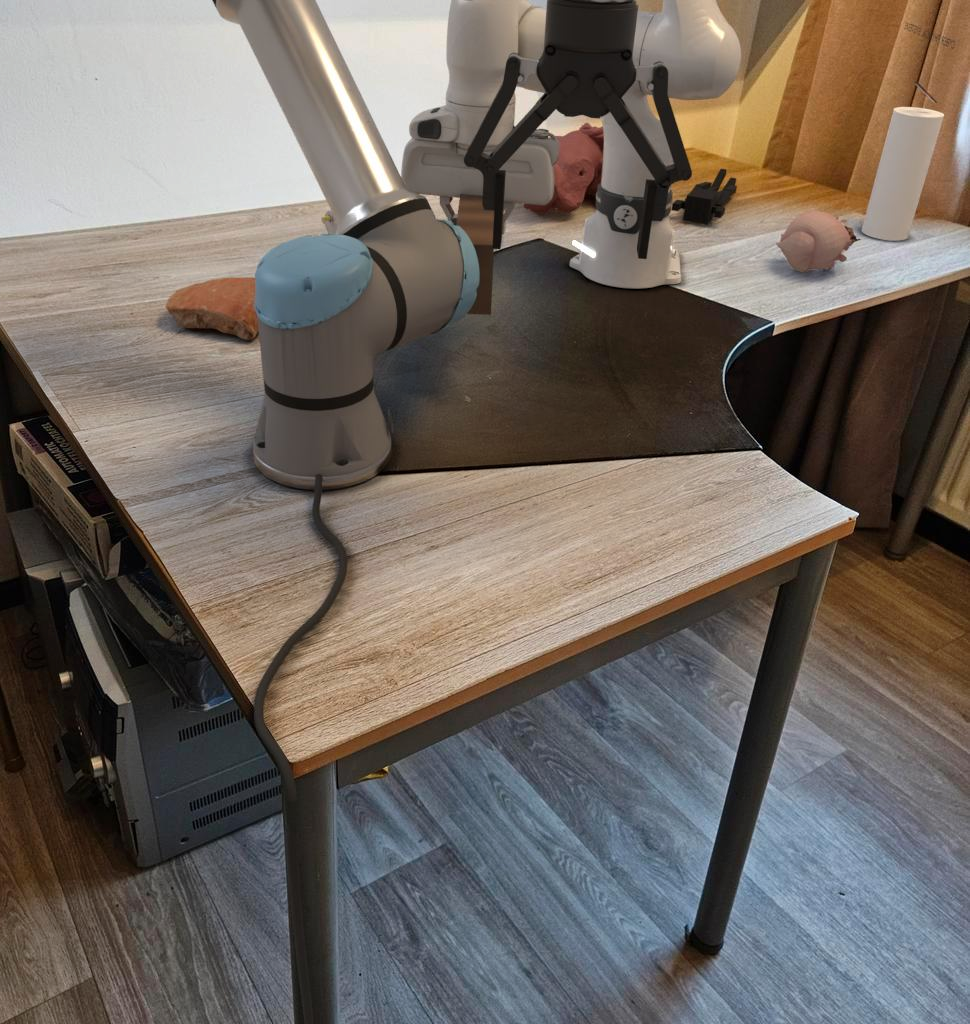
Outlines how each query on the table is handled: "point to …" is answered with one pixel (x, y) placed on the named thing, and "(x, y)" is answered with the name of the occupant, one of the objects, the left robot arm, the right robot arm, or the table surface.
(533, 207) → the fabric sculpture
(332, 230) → the electric motor
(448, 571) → the table surface
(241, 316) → the ceramic shard
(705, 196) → the toy
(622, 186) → the right robot arm
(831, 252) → the toy
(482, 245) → the bar
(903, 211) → the tall white tube
